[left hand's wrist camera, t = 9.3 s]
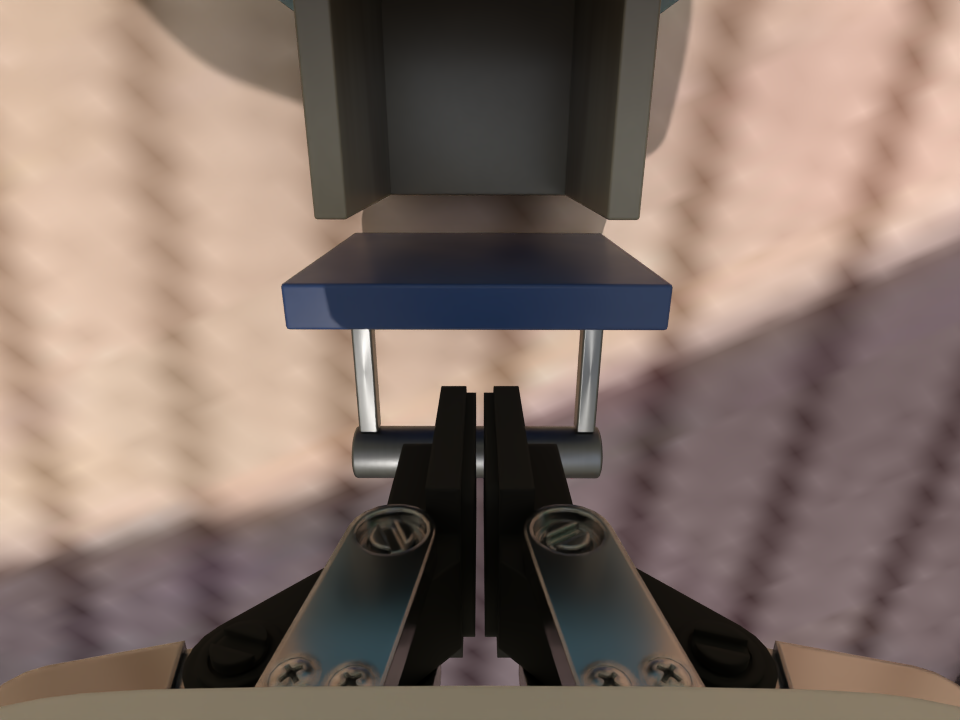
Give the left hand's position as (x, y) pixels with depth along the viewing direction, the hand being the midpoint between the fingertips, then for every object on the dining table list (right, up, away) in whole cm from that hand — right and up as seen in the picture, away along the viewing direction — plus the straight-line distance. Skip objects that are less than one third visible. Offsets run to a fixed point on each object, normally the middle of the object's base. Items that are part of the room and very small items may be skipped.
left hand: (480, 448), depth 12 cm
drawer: (0, +9, +9) cm, 13 cm away
